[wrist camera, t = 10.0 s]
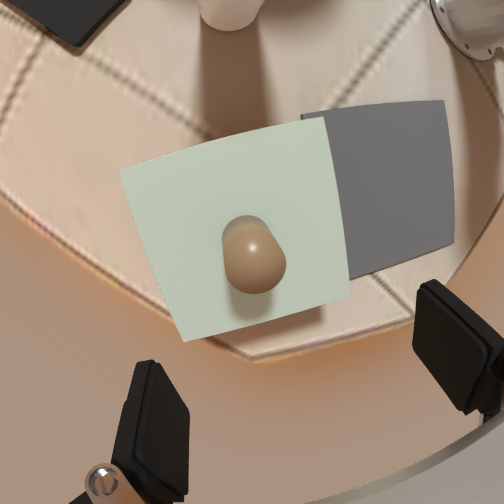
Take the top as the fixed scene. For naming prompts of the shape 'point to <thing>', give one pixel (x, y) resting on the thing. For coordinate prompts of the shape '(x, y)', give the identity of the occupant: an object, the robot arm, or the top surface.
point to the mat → (391, 180)
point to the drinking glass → (229, 13)
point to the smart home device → (70, 16)
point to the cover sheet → (231, 190)
